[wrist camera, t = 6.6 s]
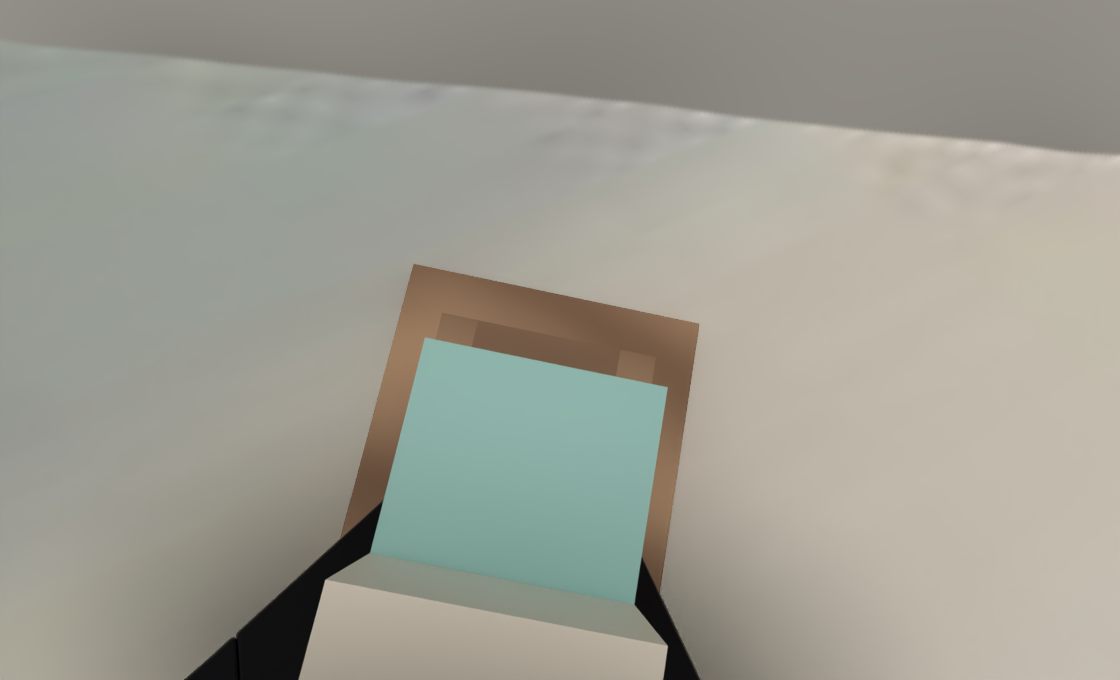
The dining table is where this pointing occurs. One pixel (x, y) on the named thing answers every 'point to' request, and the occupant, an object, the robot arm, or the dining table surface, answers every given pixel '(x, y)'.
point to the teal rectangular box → (503, 531)
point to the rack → (539, 334)
